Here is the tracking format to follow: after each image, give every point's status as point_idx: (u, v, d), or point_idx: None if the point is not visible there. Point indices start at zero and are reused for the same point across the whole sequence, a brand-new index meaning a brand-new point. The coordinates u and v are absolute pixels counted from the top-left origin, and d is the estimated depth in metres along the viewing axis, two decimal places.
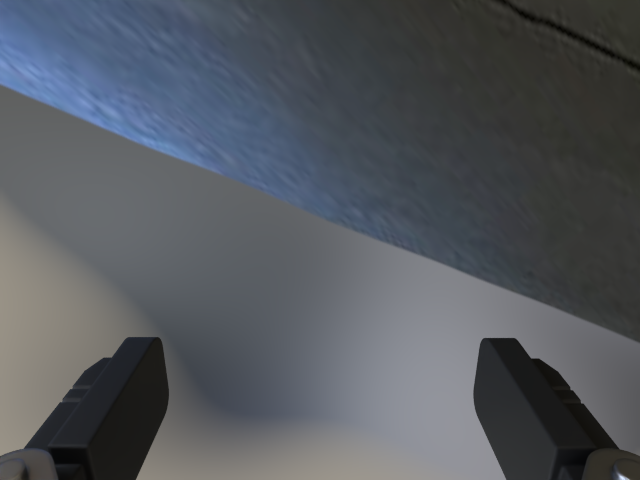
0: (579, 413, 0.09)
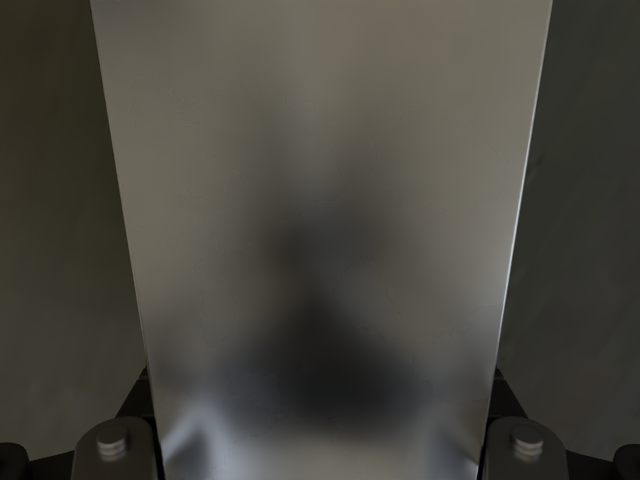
0: (499, 389, 0.10)
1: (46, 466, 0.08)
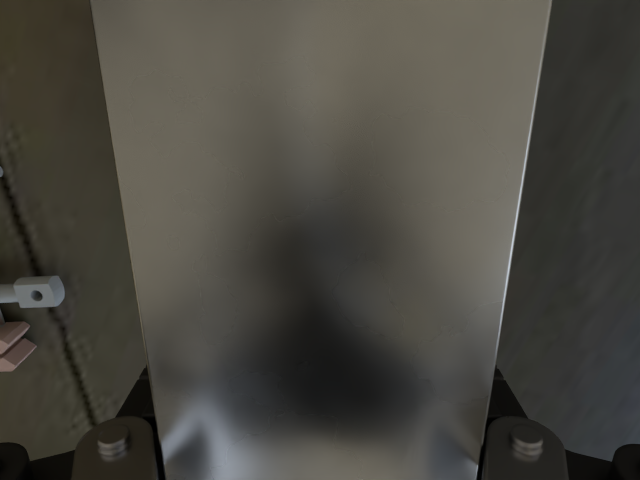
0: (499, 388, 0.10)
1: (47, 465, 0.08)
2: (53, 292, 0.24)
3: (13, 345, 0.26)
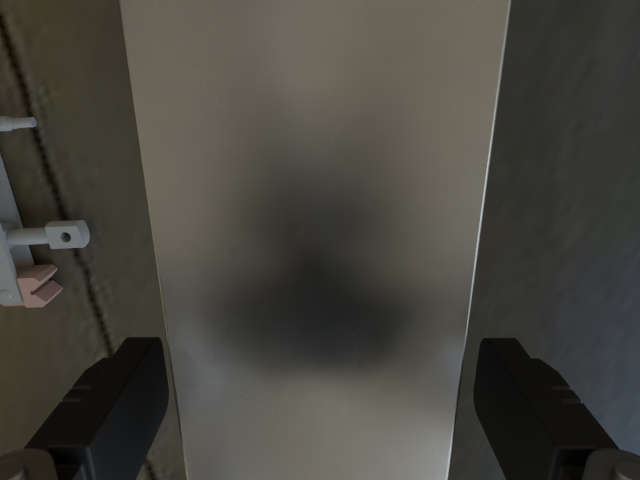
0: (579, 413, 0.09)
1: None
2: (80, 234, 0.26)
3: (43, 285, 0.28)
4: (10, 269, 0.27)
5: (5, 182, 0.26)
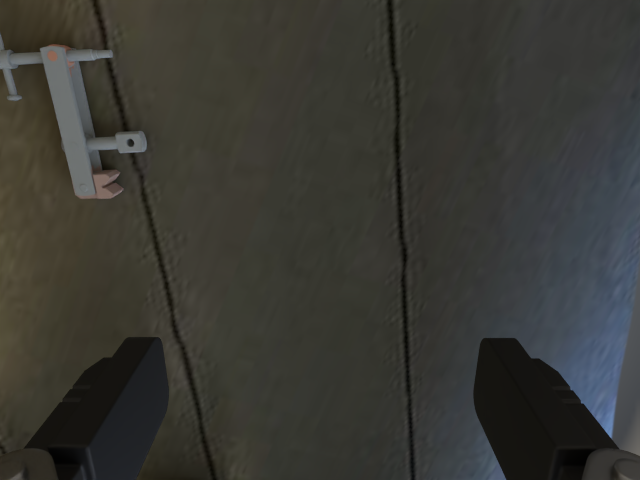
0: (579, 413, 0.09)
1: None
2: (141, 140, 0.35)
3: (109, 184, 0.37)
4: (88, 167, 0.36)
5: (85, 102, 0.35)
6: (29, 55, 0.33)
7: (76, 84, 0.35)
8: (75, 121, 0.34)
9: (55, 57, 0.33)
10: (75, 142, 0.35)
